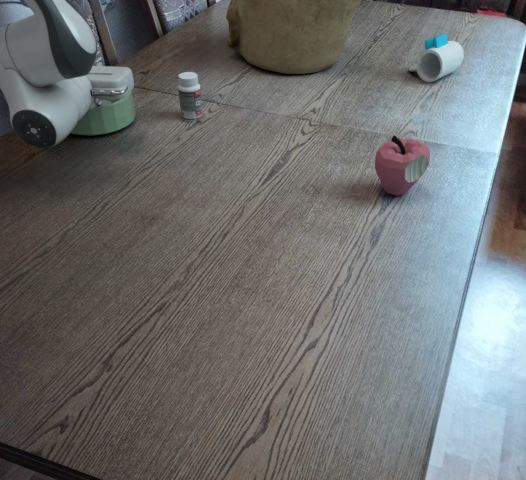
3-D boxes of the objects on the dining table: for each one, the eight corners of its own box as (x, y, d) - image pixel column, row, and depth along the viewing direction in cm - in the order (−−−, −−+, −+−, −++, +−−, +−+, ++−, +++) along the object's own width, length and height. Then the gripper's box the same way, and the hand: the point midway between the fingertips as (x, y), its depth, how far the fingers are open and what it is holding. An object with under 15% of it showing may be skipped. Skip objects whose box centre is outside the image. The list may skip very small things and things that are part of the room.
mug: (466, 26, 133) (439, 37, 127) (470, 66, 138) (444, 79, 132) (423, 37, 142) (397, 48, 136) (428, 75, 146) (403, 87, 140)
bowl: (41, 124, 118) (33, 95, 114) (101, 99, 127) (95, 72, 123) (92, 146, 111) (85, 116, 107) (151, 118, 120) (147, 90, 116)
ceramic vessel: (265, 26, 165) (265, -78, 147) (385, 59, 146) (403, -56, 128) (195, 51, 150) (187, -62, 132) (320, 92, 131) (329, -34, 112)
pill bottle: (201, 119, 120) (198, 79, 114) (179, 119, 120) (175, 79, 114) (203, 110, 123) (200, 71, 117) (182, 110, 123) (178, 71, 117)
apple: (387, 208, 95) (397, 153, 88) (360, 185, 101) (368, 131, 93) (432, 196, 98) (445, 142, 91) (403, 174, 103) (414, 121, 96)
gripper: (119, 76, 98) (139, 50, 107) (9, 72, 99) (38, 46, 109) (126, 112, 102) (144, 84, 112) (20, 107, 104) (47, 80, 113)
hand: (91, 65), depth 110 cm, fingers closed
